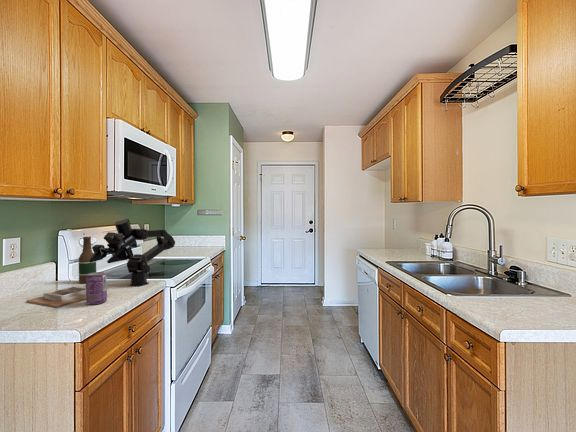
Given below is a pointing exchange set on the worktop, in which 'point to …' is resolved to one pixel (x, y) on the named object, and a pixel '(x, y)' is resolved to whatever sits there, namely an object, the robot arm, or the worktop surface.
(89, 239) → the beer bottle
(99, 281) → the beverage can
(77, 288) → the can holder
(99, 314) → the worktop surface
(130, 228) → the robot arm
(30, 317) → the worktop surface
